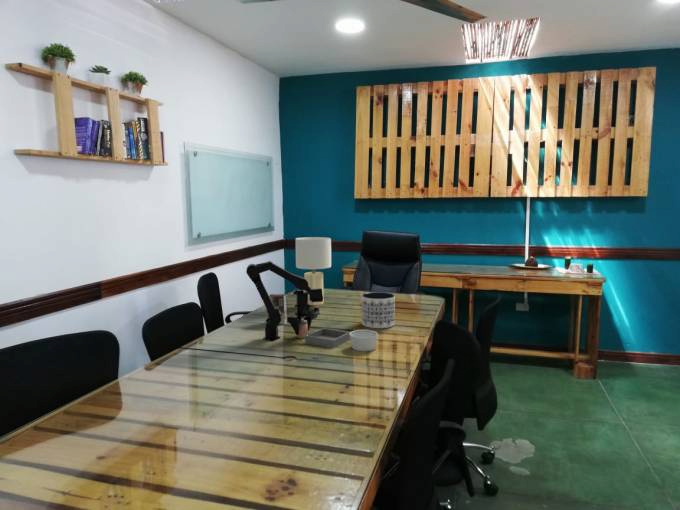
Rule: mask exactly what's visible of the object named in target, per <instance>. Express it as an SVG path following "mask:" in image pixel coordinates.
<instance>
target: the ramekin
mask: <svg viewBox="0 0 680 510" xmlns="http://www.w3.org/2000/svg"><path fill="white" fill-rule="evenodd" d="M349 332H350V346H351V348H352V350H354V351H358V352H370V351H373V350H375V349H376V348H377V344H378V336H379V334H378V332H377V331H374V330H373V329H372V330H370V329H357V330H356V329H355V330H353V331H349Z"/></svg>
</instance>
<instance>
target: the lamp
mask: <svg viewBox="0 0 680 510" xmlns="http://www.w3.org/2000/svg"><path fill="white" fill-rule="evenodd" d="M295 267H296V268H297V269H300V270H311V271H308V272H305V273H304V275H303V276H304V278H305V279H306V280H307V282H308V286H309V287H310V288H311V289H319V288H321V289H322V294H323V302H311V300H309V294H308V304H310V308H316V307H318V308H319V309H320V308H323V306H324V301H325V300H324V272H322V271H316V270H324V269H330V268H331V267H332V239H331V238H330V237H325V236H324V237H323V236H321V237H320V236H313V237H312V236H309V237H308V236H306V237H296V238H295ZM304 292H306V291H305V290H304Z"/></svg>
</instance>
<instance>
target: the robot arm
mask: <svg viewBox="0 0 680 510" xmlns="http://www.w3.org/2000/svg"><path fill="white" fill-rule="evenodd" d="M268 271H270V272H272V273H273V274H275V275H278V276H279V277H282V279H285V280H286V281H288V282H290V283H291V284H292V286H295V289H294V290H293V292H292V295H295V296H296V304H294V308H296V312H295V313H294V315H290V316H287V322H286V323H288V324H289V325H290V326H291V327H292V329H293V331H294V333H295V336H298V335H299V325H300V324H301V320H302V319H304V320H307V323H308V332H309V331H310V329H311V325H312V322H313V320H315V319H317V318H318V316H319V315H320V314H321V313H320V308H318V307H316V308H310V304H308V294H309V300H311V302H323V296H324V293H323V294H322V289H321V288H319V289H311V288H310V287H309V286H308V282H307V280H306V279H305V278H304V277H303V276H300V275H297V274H294V273H292V272H290V271H288V270H287V269H284V268H282V267H281V266H279V265H277V264H276V263H273V261H272V260H271V261H270V260H269V261H265V262H261V263H257V264H255V263H251V264H248V265H247V266H246V275H247V276H248V278H249V279H250V281H252V283H253V284H254V286H255V287H256V290H257V292H258V294H259V296H260V298H261V300H262V301H263V304H264V306H265V308H266V312H267V315H268V317H267V318H266V320H265V323H264V324H265V325H264V326H265V327H264V335H265V336H264V337H262V340H266V341H271V342H274V341H276V340H278V339H280V338H281V336H279V326H278V325H280V324H279V323H280V322H281V316H282V315H281V312H280V311H279V308H278V306H277V307H275V306H274V305H273V303H272V301H271V299H270V297H269V295H270V294H269V293H268V291H267V288H266V287H265V285H264V283H263V281H262V276H261V273H264V272H268ZM305 291H306V292H305Z"/></svg>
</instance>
